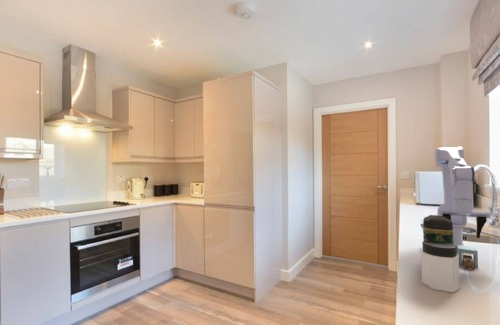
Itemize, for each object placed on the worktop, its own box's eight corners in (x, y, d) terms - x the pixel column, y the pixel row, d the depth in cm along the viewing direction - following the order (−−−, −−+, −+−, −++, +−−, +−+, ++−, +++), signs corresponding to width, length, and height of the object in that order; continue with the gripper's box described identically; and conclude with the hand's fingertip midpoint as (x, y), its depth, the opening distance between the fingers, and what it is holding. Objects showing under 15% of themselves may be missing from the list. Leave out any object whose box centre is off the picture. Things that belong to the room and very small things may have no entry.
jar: (451, 295, 69) (449, 250, 69) (417, 284, 76) (416, 243, 76) (463, 287, 74) (462, 244, 74) (431, 277, 80) (430, 238, 81)
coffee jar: (423, 266, 90) (422, 212, 91) (452, 271, 86) (450, 214, 86) (424, 275, 82) (423, 217, 82) (456, 281, 77) (454, 219, 78)
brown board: (462, 258, 98) (462, 250, 98) (471, 259, 96) (470, 251, 96) (464, 268, 88) (464, 259, 88) (473, 269, 87) (473, 260, 87)
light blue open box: (458, 260, 96) (457, 245, 96) (476, 263, 93) (476, 247, 93) (458, 263, 92) (458, 248, 92) (478, 267, 89) (477, 251, 89)
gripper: (438, 198, 96) (439, 235, 96) (491, 201, 88) (492, 241, 87) (438, 197, 102) (439, 231, 102) (488, 199, 93) (489, 237, 93)
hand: (464, 236), depth 95 cm, fingers open, 7 cm apart
